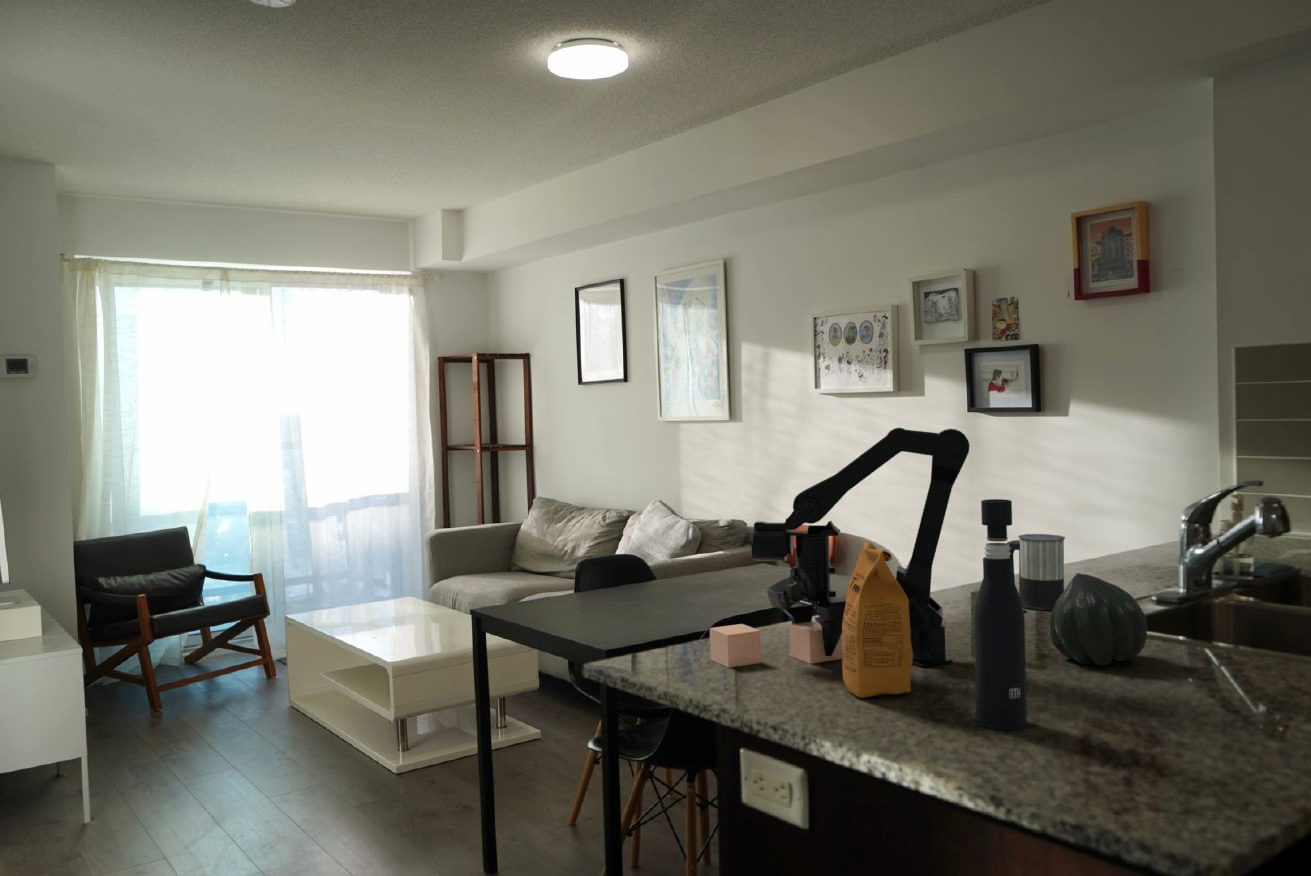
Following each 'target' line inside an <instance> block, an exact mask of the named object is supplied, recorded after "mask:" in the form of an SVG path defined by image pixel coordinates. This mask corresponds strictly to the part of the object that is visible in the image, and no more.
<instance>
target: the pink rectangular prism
mask: <svg viewBox="0 0 1311 876" xmlns="http://www.w3.org/2000/svg"><path fill="white" fill-rule="evenodd" d="M788 634H789V635H788V637H789V657H792V658H794V659H797V660H799V661H803V662H805V663H807V664H811V665H813V664H816V663H823V662H829V661H830V662H831V661H836V660H842V636H841V637H840V639H839V641H838V643H837V645H836V648H835V650H834V652H833V654H832V656H826V655H825V650H824V643H823V634H822V627H821V625H820V624H819V623H818V622H817V621H816V620H813V621H811V622H804V623H797V624H792V623H791V624H788Z"/></svg>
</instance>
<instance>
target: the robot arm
mask: <svg viewBox="0 0 1311 876" xmlns="http://www.w3.org/2000/svg"><path fill="white" fill-rule="evenodd" d="M903 452H904V453H905V452H906V453H911V454H916V455H918V454H919V455H924V456H931V472H930V482H929V486H928V489H927V490H928V491H927V494H926V499H925V502H924V506H923V510H922V514H921V518H920V521H919V526H918V529H917V534H916V538H915V542H914V545H913V550H912V552H911V553H912V554H911V557H910V560H909V562H908V564H907V565H906V568H905V567H903V566H900V565H898V566H897V570H896V576H895V578H896V580H897V581H898V583H899V584H900V586H901V587H902V589H903V590H904V592H905V594H906V596H907V598H908V600H909V618H910V640H911V647H912V652H913V660H912V665H917V666H919V667H923V668H925V667H932V666H937V665H943V664H950V663H953V662H954V659H953V658H952V657H947V656H946V654H947V653H946V651H947V649H946V626H945V625H944V624H943V620H944V618H943V617H944V613H943V611H944V609H943V608H944V607H942V606H941V605H940V604H939V603H938V602H937V600H934V598H933V597H932V596H931V587H932V572H933V563H934V559H935V557H936V556H935V555H936V552H937V549H938V543H939V539H940V536H941V532H942V529H943V526H944V525H943V524H944V522H945V521H944V520H945V516H946V514H947V513H946V512H947V509H948V504H949V502H950V498H951V494H952V489H953V487H954V484H955V482H956V480H957V479H958V477H959V474H960V472H961V470H962V468H963V466H964V464H965V461H966V460H967V457H968V456H969V452H970V441H969V440H968V438H967V436H966V435H965V434H964V433H963V432H962V431H961V430H958V429H957V428H947V429H943V430H941V431H940V432H931V431H921V430H912V429H905V428H903V427H895V428H894V429H891V430H889V431H888V433H887V434H886V435H885V436H884V437H883V438H881V439H880V440H879V441H877V442H876V443H875V444H874V445H872V446H871V447H870V448H868V449H867V450H865V451H864V452H863V453H862V454H860V455H859V456H858V457H857V458H855V459H853V460H852V461H850V462H849V463H848V464H847V465H846V466H844V467H843V468H841V470H839V471H838V472H836V473H835V474H833V475H831V476H829V477H828V478H827V477H826V479H823V480H822V481H820V482H818V483H815V484H813V485H811V486H810V487H809V486H808V487H807V488H806V489H804V490H802V491H801V492H799V493H798V494H797V495H796V496H795V498H794V499H793V503H792V510H793V511H792V512H791V514H790V515H789V516H788V517H787V518H785V522H766V521H756V522H754V523H753V533H752V541H751V555H752V560H753V561H756V562H757V561H759V562H760V561H761V562H763V561H764V562H766V561H767V562H772V561H773V562H786V561H787V560H788V555H789V556H793V554H794V544H795V554H796V555H795V556H796V557H795V560H796V563H795V566H791V569H790V571H789V573H790V575H789V576H788V577H787V578H784V579H782V580H779V581H777V582H776V583H774V584H773V585H770V586H769V587H767V588H766V591H765V592H766V594H767V596H768V599H769V602H770V605H771V607H773V608H775V607H776V608H778V609H779V610H780V611H783V612H784V613H785V614H786V615H787V616H788V618H789V619H790V622H791V624H797V623H804V622H811V621H812V620H813V615H814V608H815V609H816V613H817V615H818V617H814V621H817V622H818V623H819V624H820V625H821V627H822V634H823V643H824V650H825V655H826V656H832V654H833V652H834V650H835V648H836V645H837V643H838V641H839V639H840V637H841V638H842V622H843V616H844V610H845V606H846V598H847V596H845V597H844V596H839V597H837V593H836V592H837V591H835V590H833V589H831V574H832V575H833V574H836V567H834V566H831V558H830V556H831V555H830V551H831V550H830V537H838V536H839V535H840V534H841V529H840V528H838V527H837V526H836V525H834V524H835V523H833V521H832V520H829V521H828V522H827V524H824V525H819V524H818V525H815V524H816V523H818V522H820V521H821V520H822V519H823V518H824V517H825V516H826V515H827V514H829V512H830V511H831V510H832V509H833V508H834V507H835V506H836V504H838V502H840V500H841V499H842V498H843V497H844V496H845V495H846V493H848V492H849V491H850V490H851V489H853V488H854V487H856V486H857V485H858V484H859V483H861V482H862V481H864V480H865V479H866V478H867V477H869V476H870V475H872V474H873V473H874V472H876V471H877V470H878V469H879V468H882V466H884V465H885V464H886V463H887V462H889V461H890V460H891V459H893V458H894V457H896V456H897V455H899V454H900V453H903ZM804 524H810V525H808V527H807V530H797V529H798V528H799V527H801V526H803V525H804ZM811 524H812V525H811ZM813 524H814V525H813ZM794 537H795V543H794Z"/></svg>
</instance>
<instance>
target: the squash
mask: <svg viewBox="0 0 1311 876" xmlns="http://www.w3.org/2000/svg"><path fill="white" fill-rule="evenodd" d="M1147 624H1148V622H1147V618H1146V615H1145V613H1144V612H1143V609H1142V608H1141V606H1140V604H1139V603H1138V602H1137V600H1136V599H1135V598H1134V597H1133V596H1132V595H1131V594H1130V593H1129V592H1128V591H1126V590H1124V589H1123V588H1121V587H1120V586H1117V585H1116V584H1113V583H1111V582H1108V581H1106V580H1104V579H1102V578H1099V577H1096V576H1093V575H1090V574H1084V573H1080V572H1077V573H1075V576H1073V577H1072V578H1071V580H1070V581H1069V583H1068V584H1067V586H1066V588H1064V592H1063V593H1062V594H1061V596H1060V597H1059V599H1058V600H1057V602H1056V604H1055V606H1054V608H1053V610H1051V613H1050V616H1049V620H1048V631H1049V633H1048V634H1049V637H1050V639H1051V642H1052V644H1053V645H1054V647H1055V649H1057V651H1059V653H1060V654H1061V655H1063V656H1064V657H1066V658H1068V659H1071V660H1074V661H1076V662H1077V663H1079V664H1082V665H1083V664H1085V665H1089V664H1093V663H1094V665H1097V666H1099V667H1101V666H1102V667H1103V666H1104V667H1105V666H1108V665H1109V664H1110V663H1111V662H1112V661H1115V662H1116V661H1117V662H1121V661H1127V660H1131V659H1133V658H1134V657H1136V656H1138V655H1139V654H1140V653H1141V652H1142V650H1143V649H1144V647H1145V644H1146V641H1147V637H1148V636H1147V635H1148V633H1147V632H1148V626H1147Z"/></svg>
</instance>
